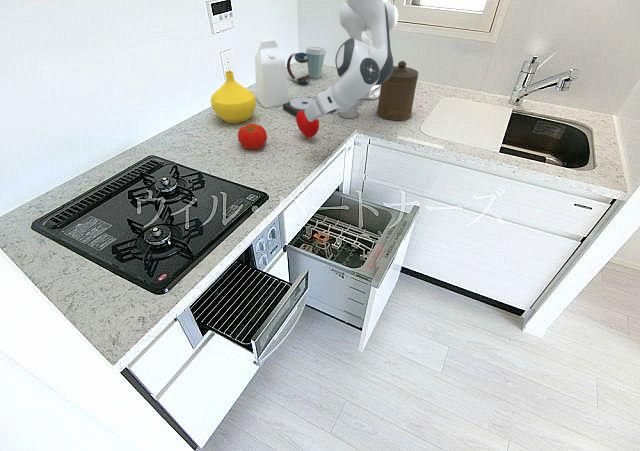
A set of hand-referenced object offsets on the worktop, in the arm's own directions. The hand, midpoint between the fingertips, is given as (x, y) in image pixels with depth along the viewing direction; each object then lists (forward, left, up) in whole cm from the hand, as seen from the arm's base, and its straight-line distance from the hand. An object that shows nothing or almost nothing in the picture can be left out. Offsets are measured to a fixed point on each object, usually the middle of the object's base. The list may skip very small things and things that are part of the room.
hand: (321, 116), depth 121 cm
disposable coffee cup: (-48, -61, -12) cm, 78 cm away
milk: (-10, -47, -12) cm, 49 cm away
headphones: (-36, -57, -12) cm, 68 cm away
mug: (-30, -14, -12) cm, 35 cm away
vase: (+13, -41, -12) cm, 45 cm away
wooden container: (-45, -2, -12) cm, 47 cm away
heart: (0, -8, -12) cm, 14 cm away
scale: (-16, -30, -12) cm, 36 cm away
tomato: (+20, -16, -12) cm, 28 cm away
